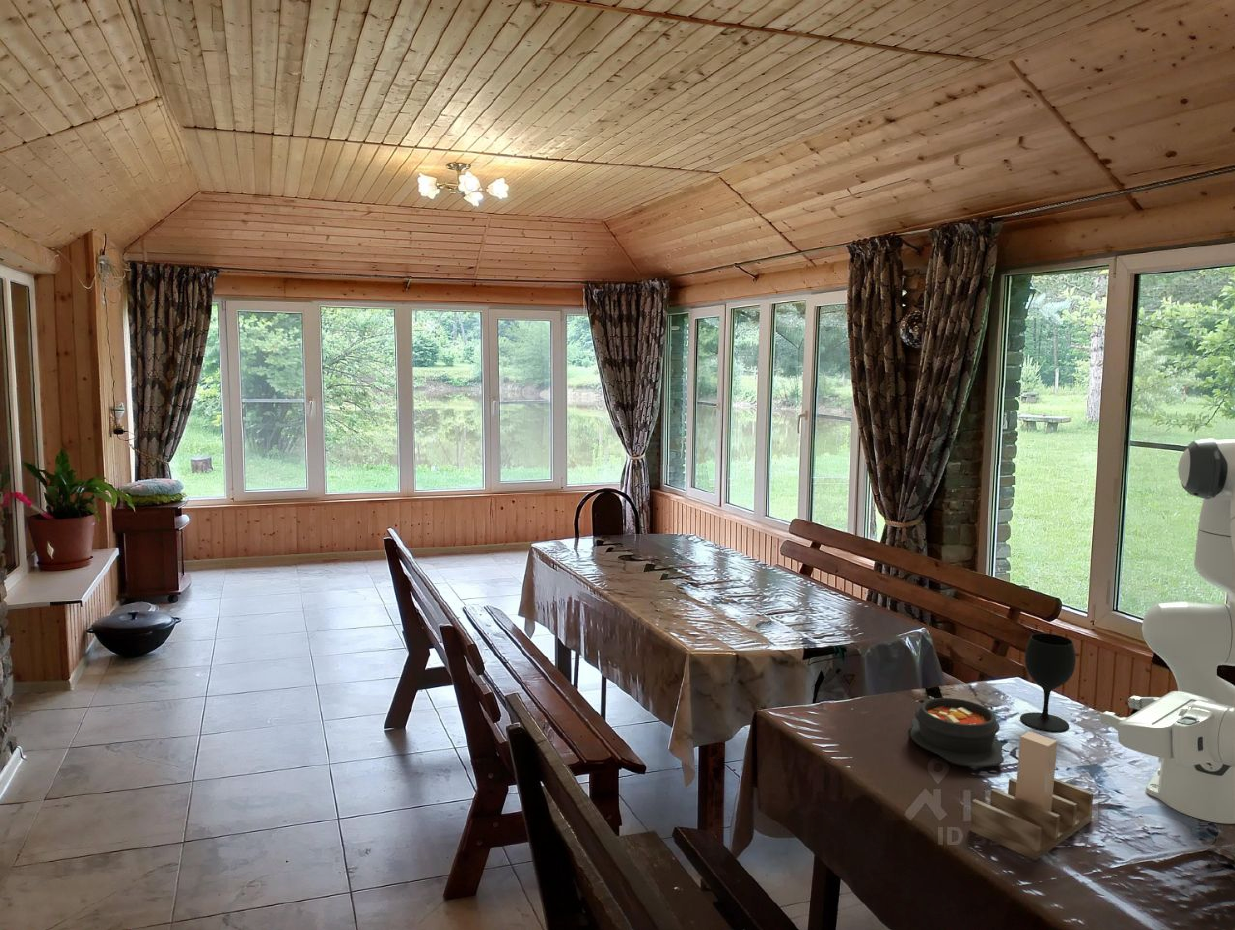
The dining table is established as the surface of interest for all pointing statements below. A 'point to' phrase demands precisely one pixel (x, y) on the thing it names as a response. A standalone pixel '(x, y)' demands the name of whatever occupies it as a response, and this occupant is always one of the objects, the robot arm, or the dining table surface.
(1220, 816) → the robot arm
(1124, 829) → the dining table surface
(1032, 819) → the drying rack
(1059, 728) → the wine glass
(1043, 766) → the beige rectangular block
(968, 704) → the casserole
